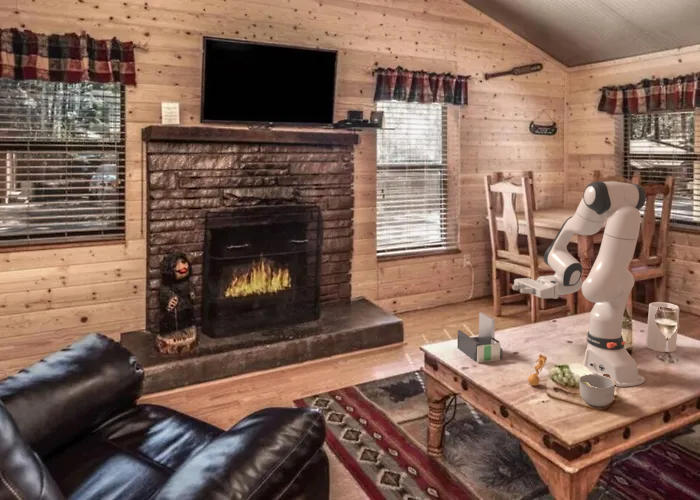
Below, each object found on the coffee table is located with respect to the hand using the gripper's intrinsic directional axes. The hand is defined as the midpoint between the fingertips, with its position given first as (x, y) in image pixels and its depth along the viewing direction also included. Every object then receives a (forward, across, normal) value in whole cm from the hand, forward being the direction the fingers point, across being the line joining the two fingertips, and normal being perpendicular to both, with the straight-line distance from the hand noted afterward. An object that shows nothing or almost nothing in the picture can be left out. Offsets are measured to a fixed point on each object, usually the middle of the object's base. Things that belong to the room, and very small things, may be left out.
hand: (517, 289), depth 219 cm
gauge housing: (+17, 0, +26) cm, 31 cm away
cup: (-57, +20, +26) cm, 66 cm away
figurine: (+13, +34, +26) cm, 45 cm away
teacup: (+1, +50, +26) cm, 56 cm away
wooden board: (+14, +2, +24) cm, 28 cm away
